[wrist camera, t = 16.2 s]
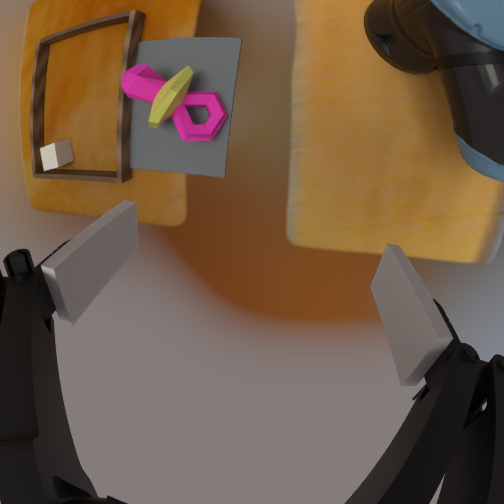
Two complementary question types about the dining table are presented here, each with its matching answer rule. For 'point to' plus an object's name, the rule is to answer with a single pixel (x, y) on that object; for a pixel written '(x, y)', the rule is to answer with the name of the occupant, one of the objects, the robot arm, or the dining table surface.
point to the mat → (204, 79)
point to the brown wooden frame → (124, 103)
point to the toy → (174, 101)
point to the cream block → (56, 154)
